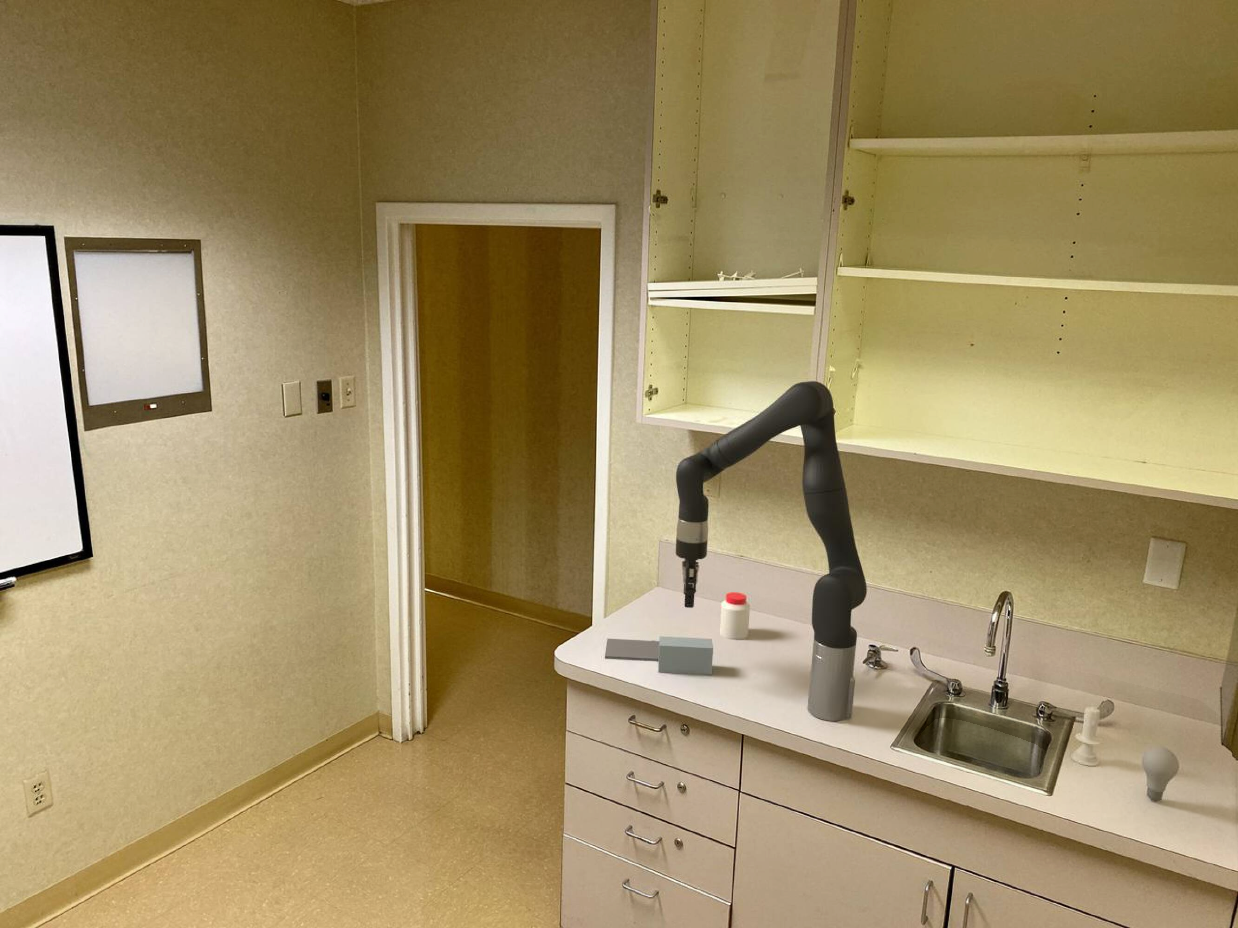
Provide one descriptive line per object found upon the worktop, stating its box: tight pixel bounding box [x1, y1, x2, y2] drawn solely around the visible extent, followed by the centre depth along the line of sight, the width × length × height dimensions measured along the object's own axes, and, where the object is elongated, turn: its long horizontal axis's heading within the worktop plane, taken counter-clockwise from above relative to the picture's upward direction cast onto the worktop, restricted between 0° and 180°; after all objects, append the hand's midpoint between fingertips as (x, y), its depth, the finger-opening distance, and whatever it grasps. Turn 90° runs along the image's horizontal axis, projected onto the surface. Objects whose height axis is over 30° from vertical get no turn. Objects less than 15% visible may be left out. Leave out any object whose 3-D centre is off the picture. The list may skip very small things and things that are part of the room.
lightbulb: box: [1141, 745, 1180, 802], centre depth 172 cm, size 6×6×11 cm
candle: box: [1070, 705, 1102, 767], centre depth 186 cm, size 5×5×12 cm
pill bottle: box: [719, 591, 751, 641], centre depth 244 cm, size 8×8×11 cm
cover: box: [657, 635, 714, 676], centre depth 222 cm, size 13×6×7 cm, turn 88°
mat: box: [604, 638, 659, 662], centre depth 232 cm, size 14×11×1 cm
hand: (688, 600), depth 219 cm, fingers open, 8 cm apart
